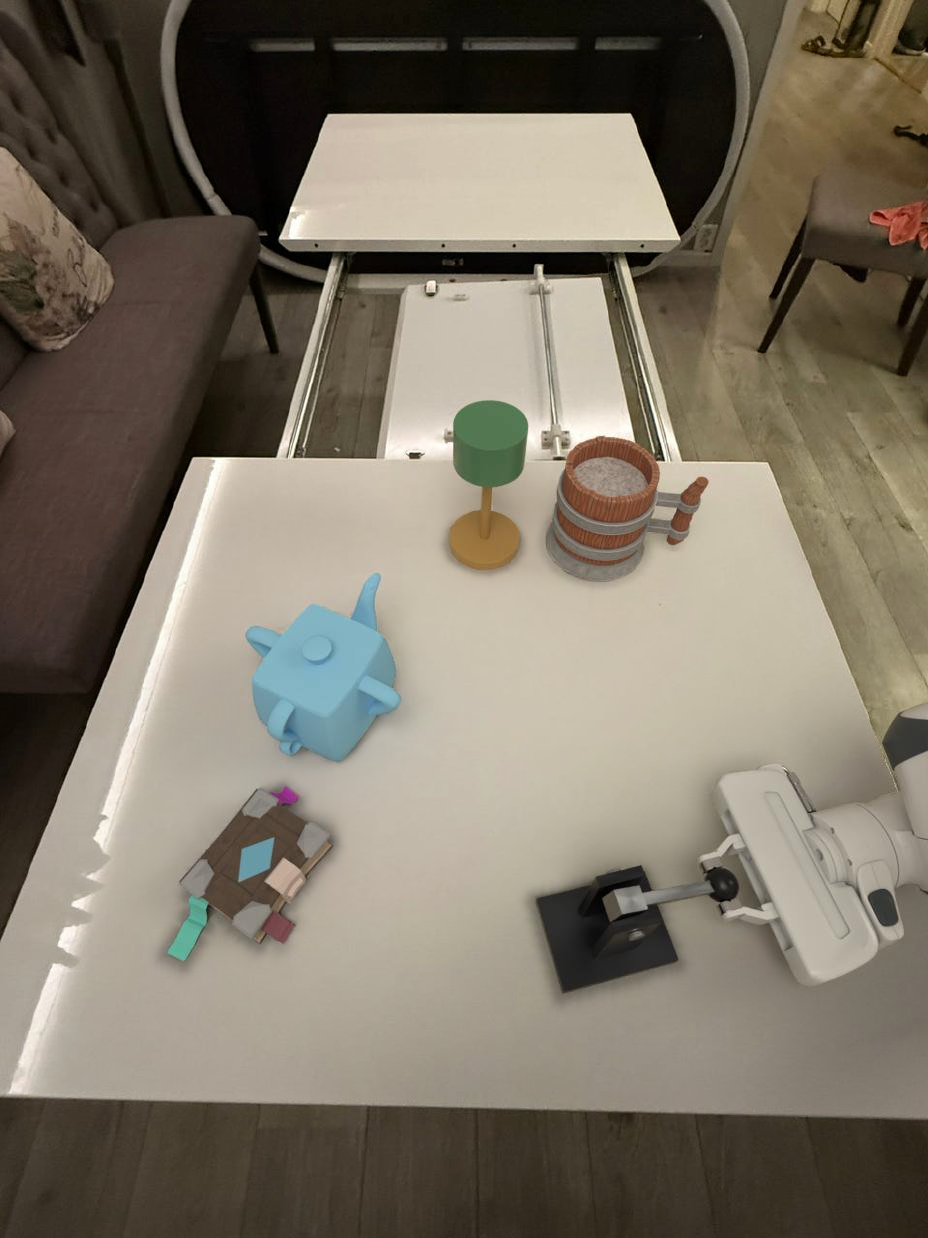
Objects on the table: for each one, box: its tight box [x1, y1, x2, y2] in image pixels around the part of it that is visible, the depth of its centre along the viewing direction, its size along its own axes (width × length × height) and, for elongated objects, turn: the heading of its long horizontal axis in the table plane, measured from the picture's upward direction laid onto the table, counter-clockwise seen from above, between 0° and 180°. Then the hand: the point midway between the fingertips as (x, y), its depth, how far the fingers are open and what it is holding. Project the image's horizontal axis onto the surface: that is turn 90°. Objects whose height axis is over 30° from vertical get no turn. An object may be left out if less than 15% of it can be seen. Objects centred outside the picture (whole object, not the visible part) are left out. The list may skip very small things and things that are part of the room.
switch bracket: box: [535, 864, 679, 995], centre depth 70 cm, size 12×9×13 cm
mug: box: [545, 435, 710, 582], centre depth 99 cm, size 14×19×15 cm
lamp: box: [448, 399, 529, 571], centre depth 96 cm, size 10×10×22 cm
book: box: [166, 785, 334, 962], centre depth 75 cm, size 20×12×5 cm, turn 148°
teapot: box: [245, 572, 402, 763], centre depth 84 cm, size 18×16×14 cm
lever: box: [602, 867, 740, 923], centre depth 68 cm, size 14×3×3 cm, turn 104°
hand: (710, 889), depth 70 cm, fingers closed on lever, 3 cm apart
